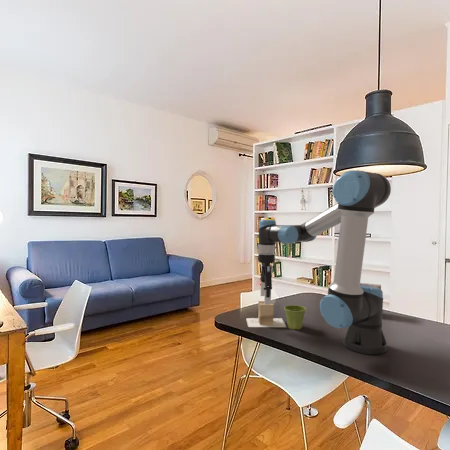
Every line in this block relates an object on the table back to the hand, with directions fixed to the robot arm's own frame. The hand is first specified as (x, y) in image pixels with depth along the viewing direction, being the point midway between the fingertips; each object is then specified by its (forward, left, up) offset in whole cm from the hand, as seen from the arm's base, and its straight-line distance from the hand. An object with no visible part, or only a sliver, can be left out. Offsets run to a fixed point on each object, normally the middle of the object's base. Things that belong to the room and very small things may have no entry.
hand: (265, 299), depth 149 cm
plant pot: (-6, -12, -11) cm, 17 cm away
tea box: (+16, -52, -11) cm, 56 cm away
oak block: (0, 0, -10) cm, 10 cm away
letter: (0, 0, -11) cm, 11 cm away
